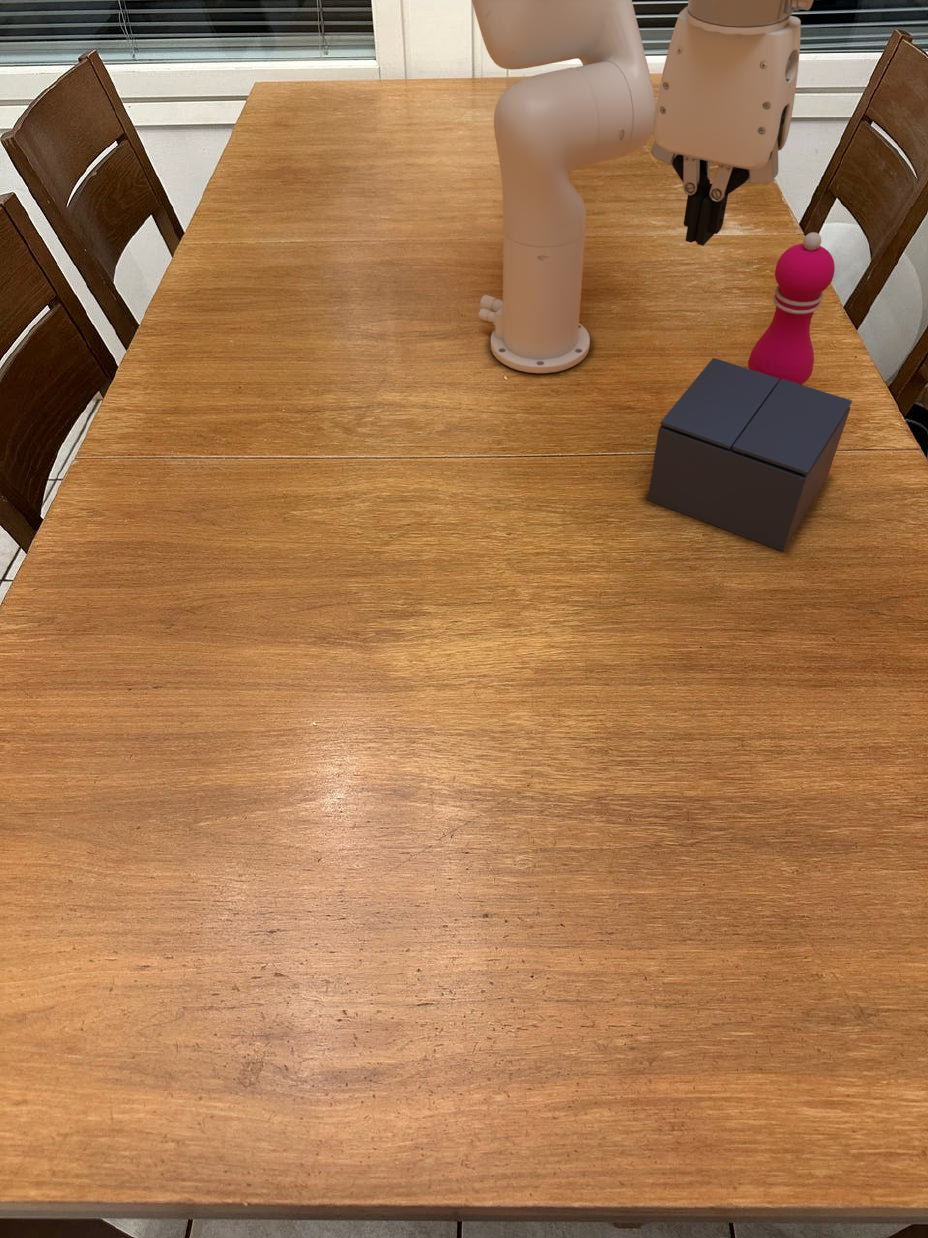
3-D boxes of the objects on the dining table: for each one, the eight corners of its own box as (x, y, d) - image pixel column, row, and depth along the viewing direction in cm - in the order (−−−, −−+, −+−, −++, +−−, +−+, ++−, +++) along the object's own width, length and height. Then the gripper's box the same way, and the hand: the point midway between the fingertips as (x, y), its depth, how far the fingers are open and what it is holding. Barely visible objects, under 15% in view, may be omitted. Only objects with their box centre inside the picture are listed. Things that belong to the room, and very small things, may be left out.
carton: (647, 500, 101) (659, 421, 93) (697, 435, 108) (712, 356, 100) (782, 551, 95) (807, 472, 87) (826, 479, 102) (853, 400, 94)
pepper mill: (804, 416, 110) (853, 252, 95) (740, 410, 111) (778, 247, 96) (802, 381, 114) (848, 219, 99) (741, 375, 115) (777, 214, 100)
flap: (660, 424, 93) (660, 421, 93) (712, 360, 100) (713, 357, 100) (730, 449, 91) (730, 446, 90) (779, 381, 98) (779, 378, 97)
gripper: (858, -4, 69) (798, 239, 82) (669, -31, 74) (642, 200, 88) (823, 27, 65) (766, 278, 78) (626, -4, 70) (605, 234, 84)
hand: (700, 236), depth 83 cm, fingers closed
